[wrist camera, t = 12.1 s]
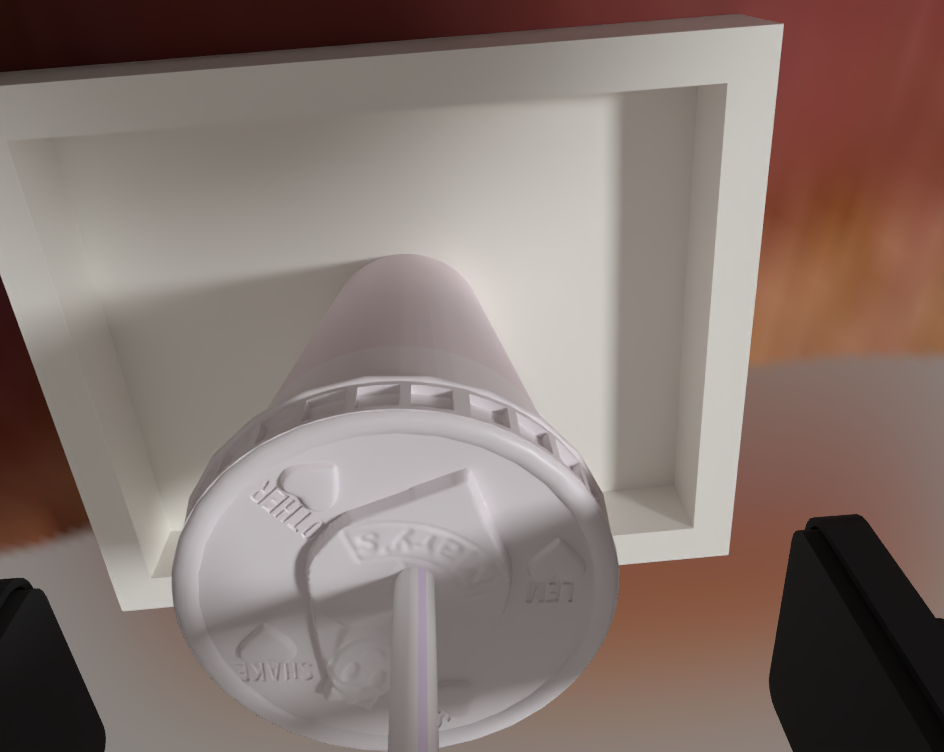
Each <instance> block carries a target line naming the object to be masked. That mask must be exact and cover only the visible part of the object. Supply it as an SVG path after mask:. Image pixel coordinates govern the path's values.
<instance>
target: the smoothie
mask: <svg viewBox="0 0 944 752" xmlns="http://www.w3.org/2000/svg"><path fill="white" fill-rule="evenodd" d="M171 589H172V597H173V605H174V609H175V613H176V617H177V621H178V624H179V626H180V629H181V632H182V634H183V637H184V639H185V641H186V643H187V645H188V646H189V648H190V650H191V652H192V654H193V655H194V657H195V658H196V660H197V661H198V663H199V664H200V666H201V667H202V668H203V669H204V670H205V672H206V673H207V674H208V675H209V676H210V678H211V679H212V680H213V681H214V682H215V683H216V684H217V685H218V686H219V687H220V688H221V689H222V690H224V691H225V692H226V693H227V694H228V695H229V696H230V697H232V698H233V699H234V700H236V701H237V702H238V703H239V704H241V705H242V706H244V707H245V708H247V709H248V710H250V711H251V712H252V713H254V714H255V715H256V716H258V717H261V718H262V719H264V720H266V721H268V722H270V723H272V724H275V725H277V726H279V727H281V728H283V729H285V730H287V731H289V732H291V733H294V734H298V735H300V736H304V737H307V738H310V739H313V740H316V741H319V742H323V743H325V744H332V745H337V746H343V747H348V748H354V749H360V750H376V751H388V752H439V748H441V747H445V746H449V745H454V744H458V743H462V742H466V741H470V740H475V739H478V738H481V737H483V736H486V735H489V734H491V733H494V732H496V731H499V730H502V729H504V728H507V727H509V726H512V725H513V724H515V723H517V722H519V721H520V720H522V719H524V718H526V717H528V716H529V715H531V714H532V713H534V712H536V711H538V710H540V709H541V708H543V707H544V706H545V705H546V704H548V703H549V702H551V701H552V700H553V699H555V698H556V697H557V696H559V694H561V693H562V692H563V691H564V690H565V689H566V688H568V687H569V686H570V685H571V684H572V683H573V682H574V681H575V680H576V678H577V677H578V676H579V675H580V674H581V673H582V672H583V671H584V670H585V668H586V667H587V666H588V664H589V663H590V662H591V661H592V659H593V658H594V656H595V655H596V653H597V651H598V650H599V648H600V646H601V645H602V643H603V641H604V639H605V637H606V635H607V633H608V630H609V628H610V625H611V622H612V619H613V616H614V613H615V609H616V604H617V600H618V591H619V563H618V557H617V551H616V546H615V543H614V540H613V537H612V533H611V530H610V525H609V520H608V514H607V509H606V504H605V499H604V494H603V493H602V491H601V489H600V487H599V486H598V484H597V482H596V480H595V479H594V477H593V475H592V473H591V472H590V470H589V468H588V466H587V465H586V463H585V461H584V459H583V458H582V456H581V454H580V452H579V451H578V450H577V449H575V448H574V447H573V446H572V445H571V444H570V443H569V442H568V441H567V440H566V439H565V438H564V437H563V436H562V435H560V434H559V433H558V432H557V431H556V430H555V429H554V428H553V427H552V426H551V425H550V424H549V423H548V422H546V421H545V420H544V419H543V418H542V417H541V416H540V415H539V413H538V412H537V410H536V408H535V406H534V404H533V402H532V400H531V398H530V397H529V395H528V393H527V391H526V389H525V387H524V385H523V383H522V381H521V380H520V378H519V376H518V374H517V372H516V370H515V368H514V366H513V364H512V362H511V361H510V359H509V357H508V355H507V353H506V351H505V349H504V347H503V345H502V344H501V342H500V340H499V338H498V336H497V334H496V332H495V330H494V328H493V326H492V325H491V323H490V321H489V319H488V317H487V315H486V313H485V311H484V309H483V308H482V306H481V304H480V302H479V300H478V298H477V296H476V294H475V292H474V291H473V289H472V288H471V286H470V285H469V283H468V282H467V281H466V280H465V279H464V278H463V277H462V276H461V275H460V274H459V273H458V272H457V271H456V270H454V269H453V268H451V267H450V266H448V265H447V264H445V263H443V262H441V261H439V260H436V259H433V258H430V257H427V256H422V255H416V254H397V255H391V256H386V257H383V258H380V259H377V260H375V261H372V262H370V263H368V264H367V265H365V266H363V267H362V268H360V269H359V270H358V271H357V272H355V273H354V274H353V275H352V276H351V277H350V278H349V279H348V280H347V282H346V283H345V284H344V286H343V287H342V289H341V290H340V292H339V294H338V295H337V297H336V298H335V300H334V302H333V303H332V305H331V306H330V308H329V310H328V311H327V313H326V315H325V316H324V318H323V319H322V321H321V323H320V324H319V326H318V328H317V329H316V331H315V332H314V334H313V336H312V337H311V339H310V340H309V342H308V344H307V345H306V347H305V349H304V350H303V352H302V353H301V355H300V357H299V358H298V360H297V361H296V363H295V365H294V366H293V368H292V370H291V371H290V373H289V374H288V376H287V378H286V379H285V381H284V382H283V384H282V386H281V387H280V389H279V391H278V392H277V394H276V395H275V397H274V399H273V400H272V402H271V404H270V405H269V406H268V408H267V409H266V410H265V411H264V412H262V413H260V414H258V415H256V416H254V417H253V418H252V419H251V420H250V421H248V422H247V423H246V424H245V425H244V426H243V427H242V428H241V429H240V430H239V431H238V432H237V433H236V434H235V435H234V436H233V437H232V438H230V439H229V440H228V441H227V442H226V443H225V444H224V445H223V446H222V447H221V448H220V449H219V450H218V451H217V452H216V453H215V454H214V455H213V456H212V458H211V460H210V461H209V463H208V465H207V467H206V469H205V470H204V472H203V474H202V476H201V478H200V479H199V481H198V483H197V485H196V487H195V488H194V490H193V492H192V494H191V496H190V497H189V500H188V506H187V512H186V518H185V523H184V526H183V528H182V531H181V533H180V536H179V539H178V542H177V546H176V549H175V553H174V559H173V565H172V584H171Z"/></svg>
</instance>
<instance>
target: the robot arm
mask: <svg viewBox="0 0 944 752" xmlns="http://www.w3.org/2000/svg"><path fill="white" fill-rule="evenodd" d="M769 688H770V694H771V698H772V703H773V705H774V708H775V711H776V713H777V715H778V717H779V720H780V722H781V724H782V727H783V729H784V732H785V734H786V736H787V739H788V741H789V743H790V746H791V748H792V750H793V752H944V619H942V618H935V617H934V615H933V614H932V612H931V611H930V609H929V608H928V607H927V605H926V604H925V602H924V601H923V599H922V598H921V597H920V595H919V594H918V592H917V591H916V590H915V588H914V587H913V586H912V584H911V583H910V581H909V580H908V578H907V577H906V576H905V574H904V573H903V571H902V570H901V569H900V567H899V566H898V564H897V563H896V562H895V560H894V559H893V557H892V556H891V554H890V553H889V552H888V550H887V549H886V548H885V546H884V545H883V543H882V542H881V540H880V539H879V538H878V536H877V535H876V534H875V532H874V531H873V529H872V528H871V526H870V525H869V523H868V522H867V521H866V520H865V519H864V518H863V517H862V516H860V515H858V514H852V515H839V516H827V517H814V518H810V519H809V521H808V522H807V524H806V528H805V530H799V531H795V533H794V534H793V538H792V542H791V548H790V554H789V561H788V566H787V572H786V578H785V584H784V591H783V596H782V602H781V608H780V615H779V621H778V627H777V632H776V639H775V644H774V650H773V656H772V662H771V668H770V676H769ZM105 743H106V736H105V729H104V726H103V724H102V721H101V719H100V717H99V715H98V712H97V710H96V708H95V706H94V703H93V701H92V699H91V697H90V694H89V692H88V690H87V687H86V685H85V683H84V681H83V679H82V676H81V674H80V672H79V669H78V667H77V665H76V663H75V660H74V658H73V656H72V653H71V651H70V649H69V647H68V644H67V642H66V640H65V638H64V635H63V633H62V631H61V628H60V626H59V624H58V622H57V619H56V617H55V615H54V613H53V610H52V608H51V606H50V604H49V601H48V599H47V597H46V595H45V593H44V592H43V591H42V590H40V589H33V587H32V585H31V584H30V582H29V581H27V580H26V579H24V578H12V579H0V752H104V751H105Z"/></svg>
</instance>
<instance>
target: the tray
mask: <svg viewBox="0 0 944 752" xmlns="http://www.w3.org/2000/svg"><path fill="white" fill-rule="evenodd" d="M783 27H784V24H783V23H778V22H773V21H769V20H764V19H759V18H754V17H750V16H745V15H740V14H732V15H719V16H706V17H694V18H681V19H668V20H656V21H643V22H630V23H618V24H605V25H592V26H580V27H567V28H554V29H541V30H529V31H516V32H503V33H491V34H478V35H465V36H453V37H440V38H427V39H415V40H402V41H389V42H377V43H364V44H351V45H339V46H326V47H313V48H301V49H288V50H275V51H263V52H250V53H237V54H225V55H212V56H199V57H187V58H174V59H161V60H149V61H136V62H123V63H111V64H98V65H85V66H73V67H60V68H47V69H35V70H22V71H9V72H0V275H1V278H2V281H3V283H4V286H5V289H6V292H7V294H8V297H9V300H10V303H11V305H12V308H13V311H14V314H15V316H16V319H17V322H18V325H19V327H20V330H21V333H22V336H23V339H24V341H25V344H26V347H27V350H28V352H29V355H30V358H31V361H32V363H33V366H34V369H35V372H36V374H37V377H38V380H39V383H40V385H41V388H42V391H43V394H44V397H45V399H46V402H47V405H48V408H49V410H50V413H51V416H52V419H53V421H54V424H55V427H56V430H57V432H58V435H59V438H60V441H61V443H62V446H63V449H64V452H65V455H66V457H67V460H68V463H69V466H70V468H71V471H72V474H73V477H74V479H75V482H76V485H77V488H78V490H79V493H80V496H81V499H82V501H83V504H84V507H85V510H86V513H87V515H88V518H89V521H90V524H91V526H92V529H93V532H94V535H95V537H96V540H97V543H98V546H99V548H100V551H101V554H102V556H103V559H104V562H105V565H106V568H107V570H108V573H109V576H110V579H111V581H112V584H113V587H114V590H115V593H116V595H117V598H118V601H119V604H120V606H121V609H122V611H131V610H141V609H151V608H163V607H174V605H173V597H172V589H171V584H172V565H173V559H174V553H175V549H176V546H177V542H178V539H179V536H180V533H181V531H182V528H183V526H184V523H185V518H186V512H187V506H188V500H189V497H190V496H191V494H192V492H193V490H194V488H195V487H196V485H197V483H198V481H199V479H200V478H201V476H202V474H203V472H204V470H205V469H206V467H207V465H208V463H209V461H210V460H211V458H212V456H213V455H214V454H215V453H216V452H217V451H218V450H219V449H220V448H221V447H222V446H223V445H224V444H225V443H226V442H227V441H228V440H229V439H230V438H232V437H233V436H234V435H235V434H236V433H237V432H238V431H239V430H240V429H241V428H242V427H243V426H244V425H245V424H246V423H247V422H248V421H250V420H251V419H252V418H253V417H254V416H256V415H258V414H260V413H262V412H264V411H265V410H266V409H267V408H268V406H269V405H270V404H271V402H272V400H273V399H274V397H275V395H276V394H277V392H278V391H279V389H280V387H281V386H282V384H283V382H284V381H285V379H286V378H287V376H288V374H289V373H290V371H291V370H292V368H293V366H294V365H295V363H296V361H297V360H298V358H299V357H300V355H301V353H302V352H303V350H304V349H305V347H306V345H307V344H308V342H309V340H310V339H311V337H312V336H313V334H314V332H315V331H316V329H317V328H318V326H319V324H320V323H321V321H322V319H323V318H324V316H325V315H326V313H327V311H328V310H329V308H330V306H331V305H332V303H333V302H334V300H335V298H336V297H337V295H338V294H339V292H340V290H341V289H342V287H343V286H344V284H345V283H346V282H347V280H348V279H349V278H350V277H351V276H352V275H353V274H354V273H355V272H357V271H358V270H359V269H360V268H362V267H363V266H365V265H367V264H368V263H370V262H372V261H375V260H377V259H380V258H383V257H386V256H391V255H397V254H416V255H422V256H427V257H430V258H433V259H436V260H439V261H441V262H443V263H445V264H447V265H448V266H450V267H451V268H453V269H454V270H456V271H457V272H458V273H459V274H460V275H461V276H462V277H463V278H464V279H465V280H466V281H467V282H468V283H469V285H470V286H471V288H472V289H473V291H474V292H475V294H476V296H477V298H478V300H479V302H480V304H481V306H482V308H483V309H484V311H485V313H486V315H487V317H488V319H489V321H490V323H491V325H492V326H493V328H494V330H495V332H496V334H497V336H498V338H499V340H500V342H501V344H502V345H503V347H504V349H505V351H506V353H507V355H508V357H509V359H510V361H511V362H512V364H513V366H514V368H515V370H516V372H517V374H518V376H519V378H520V380H521V381H522V383H523V385H524V387H525V389H526V391H527V393H528V395H529V397H530V398H531V400H532V402H533V404H534V406H535V408H536V410H537V412H538V413H539V415H540V416H541V417H542V418H543V419H544V420H545V421H546V422H548V423H549V424H550V425H551V426H552V427H553V428H554V429H555V430H556V431H557V432H558V433H559V434H560V435H562V436H563V437H564V438H565V439H566V440H567V441H568V442H569V443H570V444H571V445H572V446H573V447H574V448H575V449H577V450H578V451H579V452H580V454H581V456H582V458H583V459H584V461H585V463H586V465H587V466H588V468H589V470H590V472H591V473H592V475H593V477H594V479H595V480H596V482H597V484H598V486H599V487H600V489H601V491H602V493H603V494H604V499H605V504H606V509H607V514H608V520H609V525H610V530H611V533H612V537H613V540H614V543H615V546H616V551H617V557H618V563H619V565H624V564H635V563H645V562H655V561H666V560H678V559H688V558H699V557H709V556H720V555H728V554H729V545H730V535H731V525H732V516H733V506H734V497H735V487H736V478H737V468H738V458H739V449H740V439H741V430H742V420H743V411H744V400H745V392H746V382H747V372H748V363H749V353H750V344H751V334H752V324H753V315H754V305H755V296H756V286H757V276H758V267H759V257H760V248H761V238H762V229H763V219H764V209H765V200H766V190H767V181H768V171H769V161H770V152H771V142H772V133H773V123H774V113H775V104H776V94H777V85H778V75H779V65H780V56H781V46H782V37H783Z"/></svg>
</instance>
